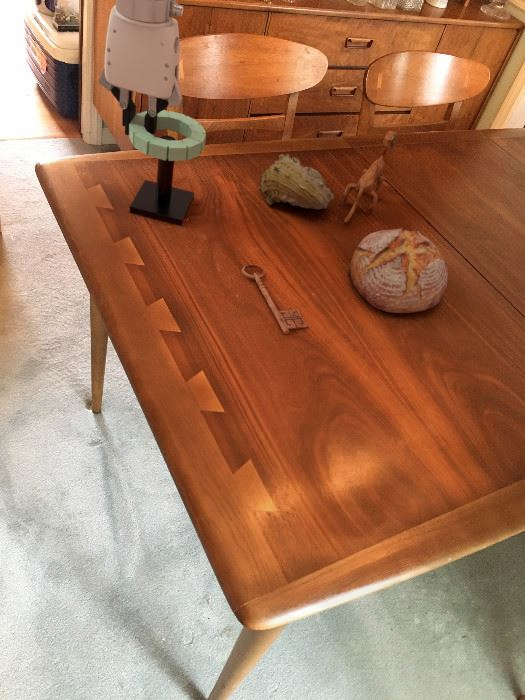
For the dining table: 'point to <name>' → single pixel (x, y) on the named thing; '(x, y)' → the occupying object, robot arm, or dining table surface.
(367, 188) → the dinosaur figurine
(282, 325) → the key
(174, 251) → the dining table surface
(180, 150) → the ring
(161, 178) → the post
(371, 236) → the bread
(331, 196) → the seashell
